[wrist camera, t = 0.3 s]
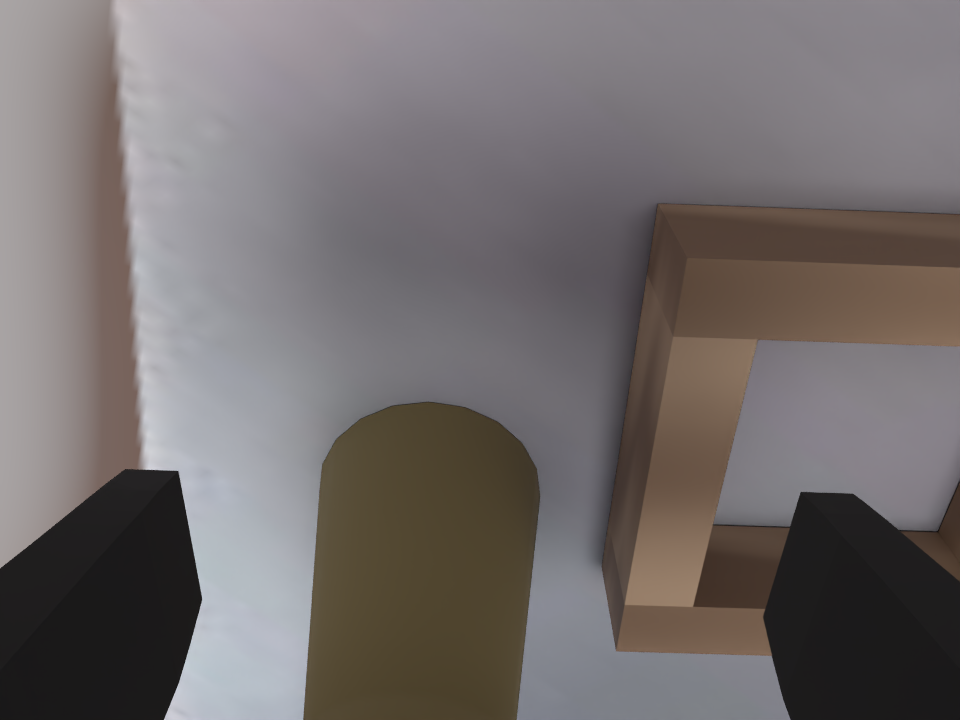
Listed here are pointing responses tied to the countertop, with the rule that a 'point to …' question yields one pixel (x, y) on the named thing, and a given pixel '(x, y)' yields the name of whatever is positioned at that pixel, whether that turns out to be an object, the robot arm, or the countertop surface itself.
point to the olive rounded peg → (421, 569)
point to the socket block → (720, 391)
